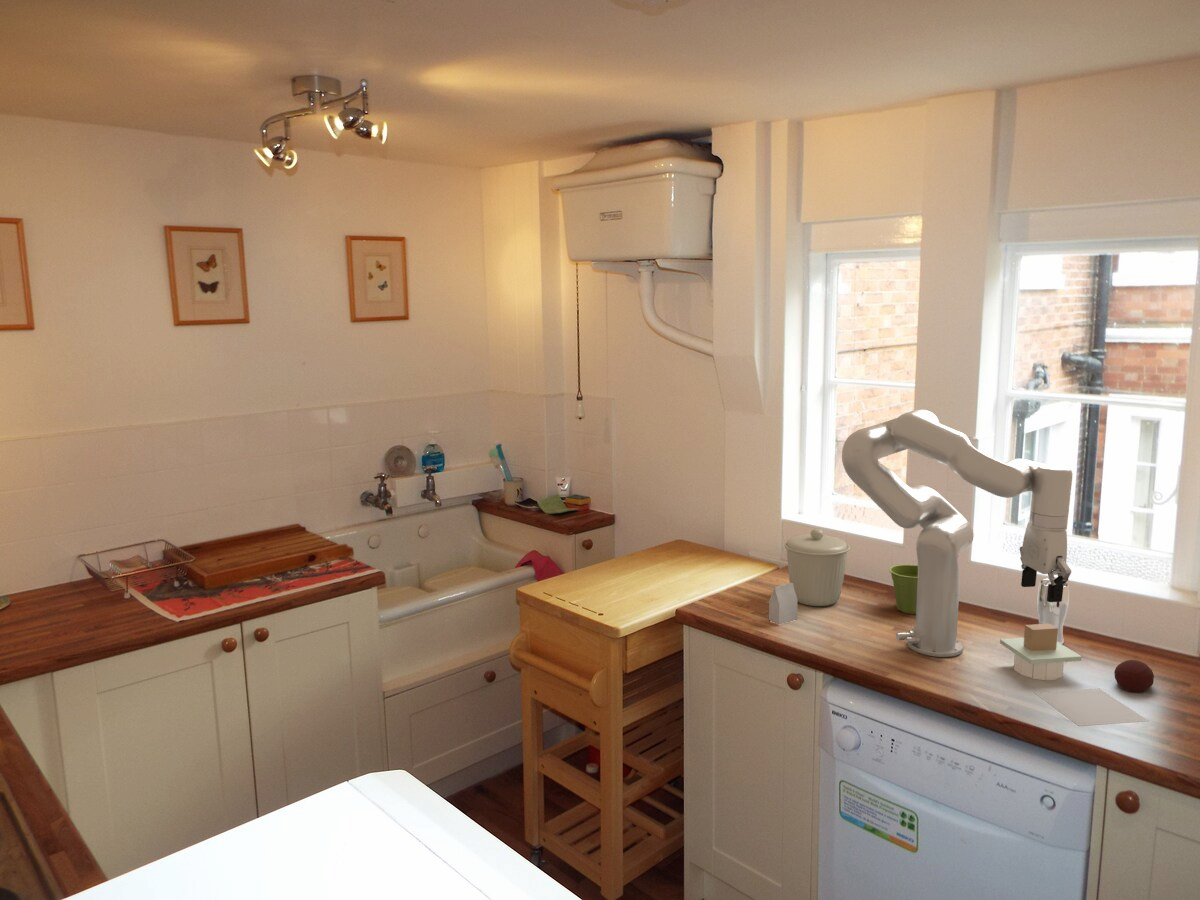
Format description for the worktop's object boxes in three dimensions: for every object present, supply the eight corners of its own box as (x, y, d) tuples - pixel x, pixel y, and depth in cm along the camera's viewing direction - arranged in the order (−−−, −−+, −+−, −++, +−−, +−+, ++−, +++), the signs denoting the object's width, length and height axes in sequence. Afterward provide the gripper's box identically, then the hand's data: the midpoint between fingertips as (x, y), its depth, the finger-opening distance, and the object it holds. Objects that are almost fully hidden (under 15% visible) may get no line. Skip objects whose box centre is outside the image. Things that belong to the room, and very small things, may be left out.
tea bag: (796, 620, 235) (797, 584, 234) (778, 626, 232) (779, 589, 230) (786, 616, 238) (787, 581, 237) (768, 621, 235) (769, 586, 233)
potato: (1107, 690, 191) (1109, 664, 190) (1122, 676, 198) (1124, 650, 197) (1145, 701, 186) (1148, 674, 185) (1159, 686, 193) (1161, 660, 192)
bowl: (1030, 683, 195) (1031, 661, 195) (1005, 664, 205) (1006, 644, 204) (1071, 680, 196) (1073, 659, 196) (1044, 662, 206) (1046, 642, 205)
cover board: (1030, 664, 193) (1032, 638, 192) (999, 643, 205) (1001, 618, 204) (1081, 660, 195) (1083, 635, 194) (1047, 640, 206) (1049, 615, 205)
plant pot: (922, 601, 248) (924, 563, 246) (940, 616, 236) (942, 576, 234) (881, 602, 247) (882, 564, 246) (896, 618, 236) (898, 577, 234)
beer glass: (1069, 647, 215) (1074, 588, 212) (1038, 645, 216) (1042, 586, 214) (1060, 636, 222) (1065, 579, 219) (1030, 634, 223) (1034, 577, 220)
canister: (856, 596, 253) (858, 525, 249) (836, 616, 238) (839, 540, 234) (795, 586, 262) (797, 518, 259) (773, 604, 247) (774, 532, 244)
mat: (1078, 728, 175) (1079, 725, 175) (1034, 694, 190) (1034, 692, 190) (1148, 723, 177) (1148, 720, 176) (1099, 690, 191) (1099, 688, 191)
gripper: (1010, 510, 203) (1003, 581, 206) (1056, 531, 186) (1048, 608, 189) (1040, 510, 204) (1033, 580, 207) (1089, 530, 187) (1081, 607, 190)
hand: (1040, 593), depth 198 cm, fingers open, 9 cm apart
